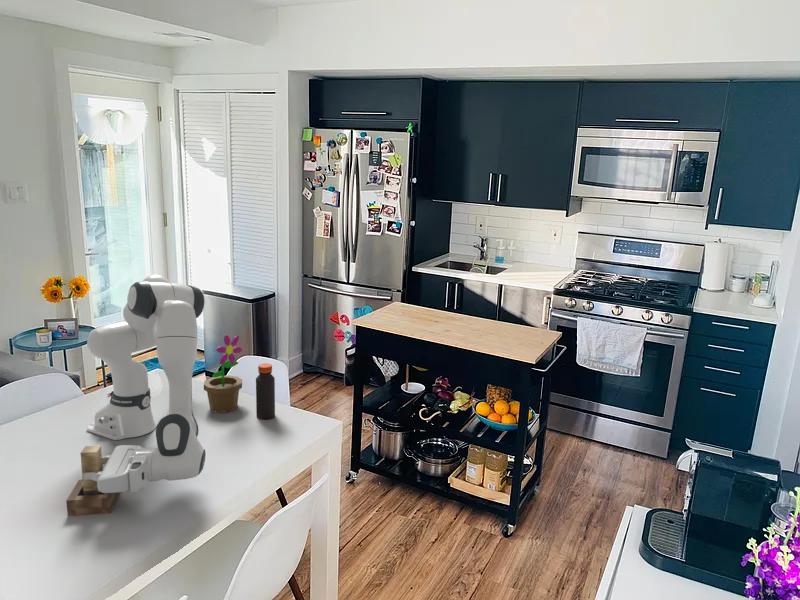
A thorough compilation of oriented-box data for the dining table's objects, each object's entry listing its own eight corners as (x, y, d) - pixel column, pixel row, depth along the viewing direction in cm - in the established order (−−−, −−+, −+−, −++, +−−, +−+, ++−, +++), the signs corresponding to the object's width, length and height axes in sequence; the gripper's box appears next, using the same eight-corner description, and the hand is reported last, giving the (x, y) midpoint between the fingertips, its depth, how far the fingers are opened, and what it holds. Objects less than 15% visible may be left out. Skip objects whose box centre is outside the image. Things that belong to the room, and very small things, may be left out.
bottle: (278, 415, 226) (278, 364, 222) (265, 421, 220) (265, 369, 216) (265, 411, 229) (265, 361, 225) (252, 417, 224) (251, 365, 219)
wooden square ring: (120, 492, 171) (119, 477, 170) (110, 512, 161) (109, 497, 160) (80, 494, 169) (78, 480, 168) (67, 515, 159) (66, 500, 158)
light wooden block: (105, 498, 168) (101, 445, 164) (101, 506, 164) (96, 452, 160) (89, 500, 167) (84, 446, 163) (84, 507, 163) (80, 453, 160)
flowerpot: (222, 417, 222) (220, 339, 216) (196, 408, 230) (193, 332, 223) (251, 405, 234) (249, 331, 227) (225, 397, 241) (223, 324, 235)
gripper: (150, 438, 175) (98, 440, 172) (134, 473, 155) (75, 477, 152) (151, 458, 176) (100, 461, 173) (135, 495, 156) (77, 499, 154)
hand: (88, 468), depth 163 cm, fingers open, 5 cm apart
